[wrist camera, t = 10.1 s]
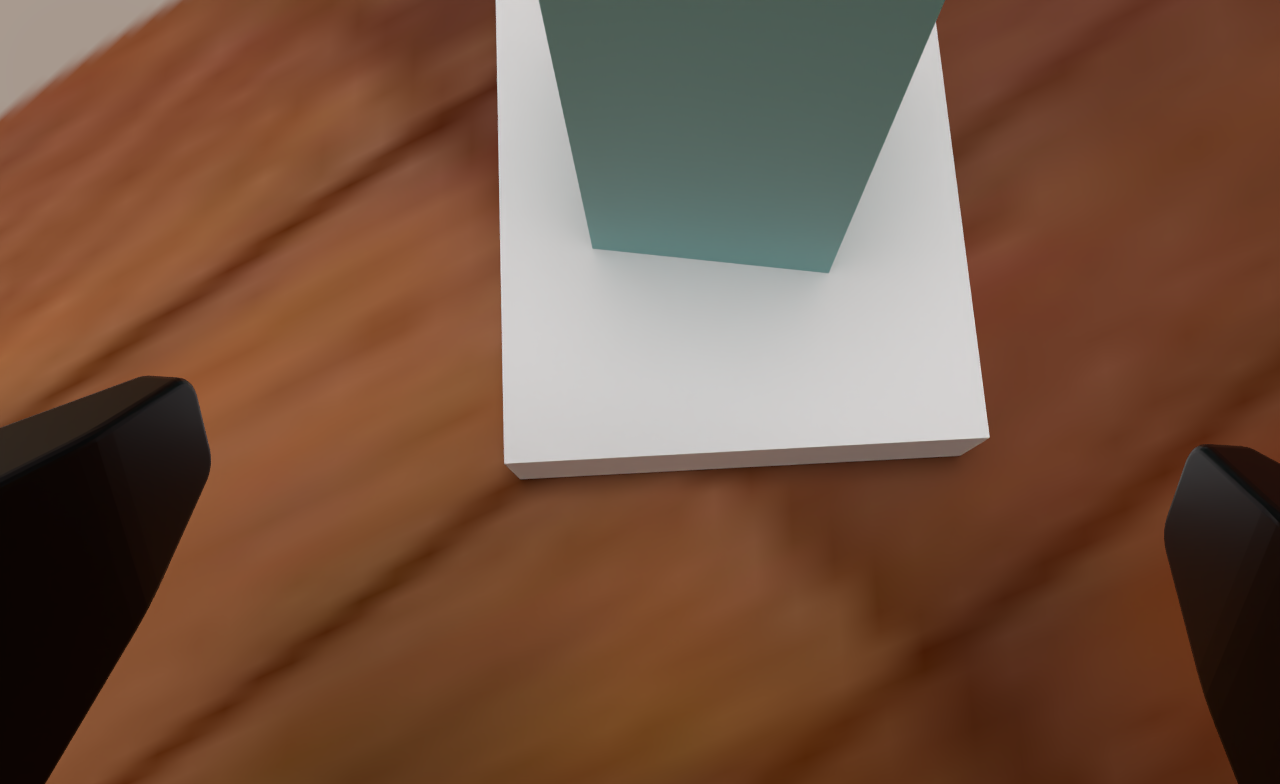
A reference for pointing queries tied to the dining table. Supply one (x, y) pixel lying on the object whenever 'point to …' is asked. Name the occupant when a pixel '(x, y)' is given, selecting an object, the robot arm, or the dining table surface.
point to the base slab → (728, 312)
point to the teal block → (730, 119)
